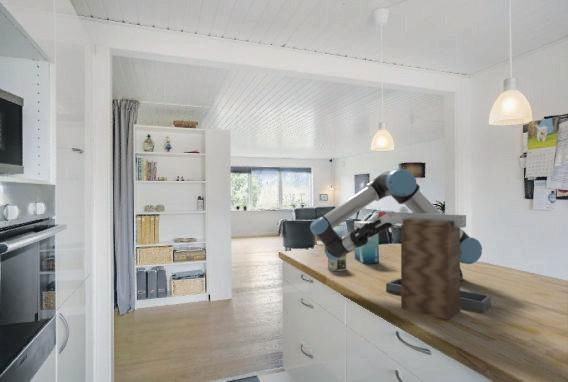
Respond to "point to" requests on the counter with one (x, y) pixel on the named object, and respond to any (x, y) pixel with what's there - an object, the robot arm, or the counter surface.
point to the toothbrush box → (367, 247)
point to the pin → (426, 217)
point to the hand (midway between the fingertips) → (396, 215)
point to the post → (430, 267)
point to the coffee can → (337, 264)
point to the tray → (466, 298)
